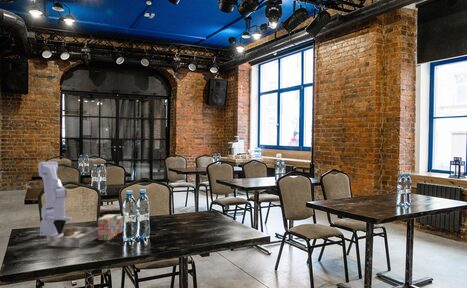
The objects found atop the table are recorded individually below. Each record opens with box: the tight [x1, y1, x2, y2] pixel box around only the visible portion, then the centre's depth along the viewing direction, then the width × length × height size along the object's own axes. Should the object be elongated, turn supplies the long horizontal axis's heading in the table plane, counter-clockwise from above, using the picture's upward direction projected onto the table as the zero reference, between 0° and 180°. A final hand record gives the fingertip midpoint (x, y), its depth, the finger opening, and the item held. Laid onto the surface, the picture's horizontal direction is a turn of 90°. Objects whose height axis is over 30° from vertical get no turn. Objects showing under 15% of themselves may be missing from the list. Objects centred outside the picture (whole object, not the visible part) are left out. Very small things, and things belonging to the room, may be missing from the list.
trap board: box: [46, 226, 98, 248], centre depth 208 cm, size 19×21×5 cm
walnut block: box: [62, 226, 74, 236], centre depth 209 cm, size 4×4×4 cm
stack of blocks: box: [97, 213, 125, 241], centre depth 220 cm, size 21×6×12 cm, turn 173°
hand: (59, 233), depth 210 cm, fingers closed
